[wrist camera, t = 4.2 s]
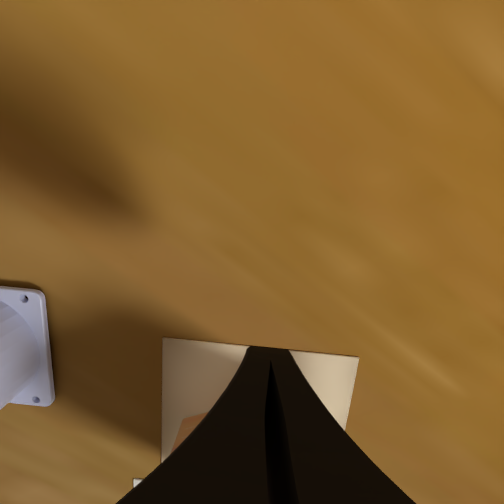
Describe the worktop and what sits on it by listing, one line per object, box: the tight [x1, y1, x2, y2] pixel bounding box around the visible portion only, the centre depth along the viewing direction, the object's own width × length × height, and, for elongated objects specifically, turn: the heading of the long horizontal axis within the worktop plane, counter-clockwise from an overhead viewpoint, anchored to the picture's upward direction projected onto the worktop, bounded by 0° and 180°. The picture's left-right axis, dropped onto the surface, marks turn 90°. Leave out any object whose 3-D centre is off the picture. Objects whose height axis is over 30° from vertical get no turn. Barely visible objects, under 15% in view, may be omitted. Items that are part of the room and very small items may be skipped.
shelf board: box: [161, 337, 359, 463], centre depth 19 cm, size 12×11×1 cm
